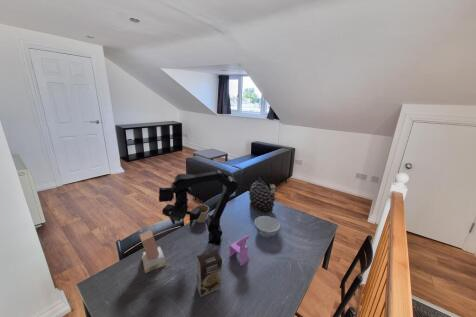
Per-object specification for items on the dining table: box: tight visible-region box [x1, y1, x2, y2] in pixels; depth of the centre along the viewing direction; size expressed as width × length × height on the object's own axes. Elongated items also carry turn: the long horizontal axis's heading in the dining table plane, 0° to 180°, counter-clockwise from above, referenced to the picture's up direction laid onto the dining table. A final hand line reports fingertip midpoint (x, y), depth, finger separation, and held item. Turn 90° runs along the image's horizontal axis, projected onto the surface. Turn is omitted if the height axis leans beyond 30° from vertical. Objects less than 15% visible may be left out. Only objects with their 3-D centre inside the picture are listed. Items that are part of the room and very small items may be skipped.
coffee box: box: [196, 249, 223, 298], centre depth 85 cm, size 9×6×16 cm
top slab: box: [142, 246, 166, 268], centre depth 97 cm, size 8×8×2 cm
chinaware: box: [254, 215, 281, 239], centre depth 121 cm, size 15×15×8 cm
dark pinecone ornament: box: [248, 176, 276, 216], centre depth 144 cm, size 21×15×25 cm
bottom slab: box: [141, 255, 166, 274], centre depth 98 cm, size 9×9×2 cm
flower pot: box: [194, 204, 210, 224], centre depth 130 cm, size 9×9×9 cm
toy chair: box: [228, 234, 250, 267], centre depth 102 cm, size 8×9×15 cm
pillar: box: [139, 229, 159, 261], centre depth 94 cm, size 5×5×12 cm
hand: (182, 225), depth 105 cm, fingers open, 9 cm apart
